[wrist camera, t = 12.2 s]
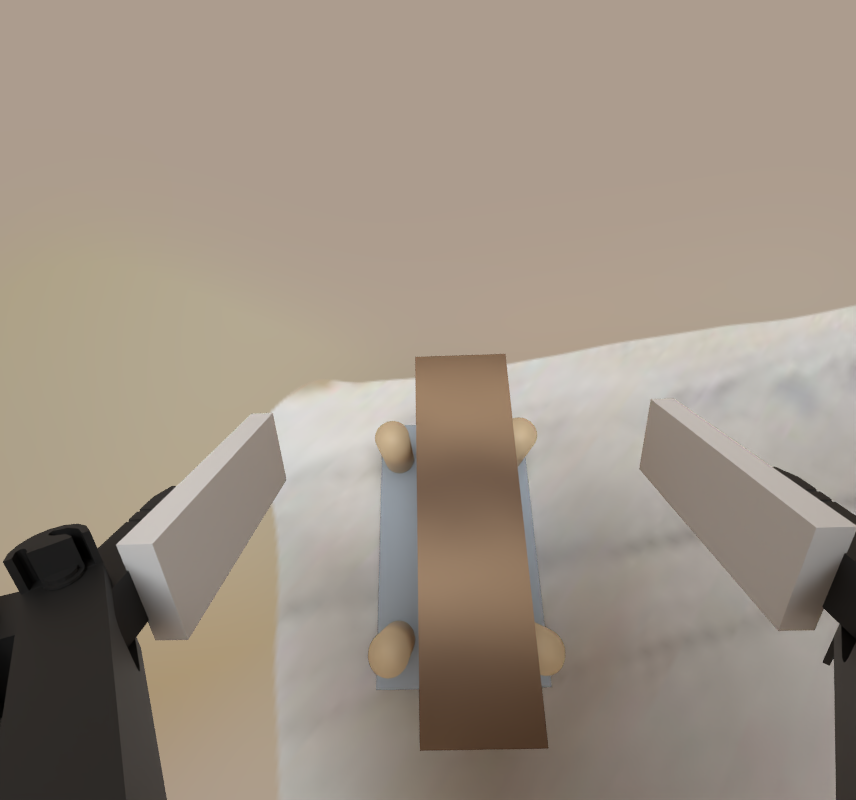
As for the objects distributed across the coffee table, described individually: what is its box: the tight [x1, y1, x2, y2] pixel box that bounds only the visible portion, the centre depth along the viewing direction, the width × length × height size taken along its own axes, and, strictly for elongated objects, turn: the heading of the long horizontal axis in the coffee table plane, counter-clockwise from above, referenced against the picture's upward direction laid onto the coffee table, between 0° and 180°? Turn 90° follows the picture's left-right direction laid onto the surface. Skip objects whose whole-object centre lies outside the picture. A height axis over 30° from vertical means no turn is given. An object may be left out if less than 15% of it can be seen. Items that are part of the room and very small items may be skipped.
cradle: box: [368, 418, 565, 690], centre depth 25 cm, size 16×10×6 cm, turn 1°
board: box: [415, 354, 548, 751], centre depth 21 cm, size 14×4×12 cm, turn 1°
